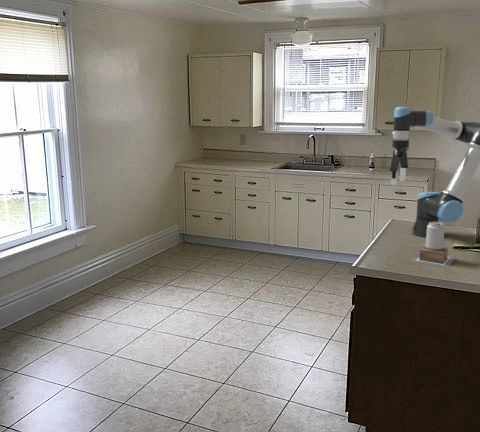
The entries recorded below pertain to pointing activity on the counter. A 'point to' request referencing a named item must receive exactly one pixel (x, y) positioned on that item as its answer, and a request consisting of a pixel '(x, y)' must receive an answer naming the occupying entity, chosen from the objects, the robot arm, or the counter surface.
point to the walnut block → (433, 255)
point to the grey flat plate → (445, 263)
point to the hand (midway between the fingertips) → (398, 182)
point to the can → (435, 236)
